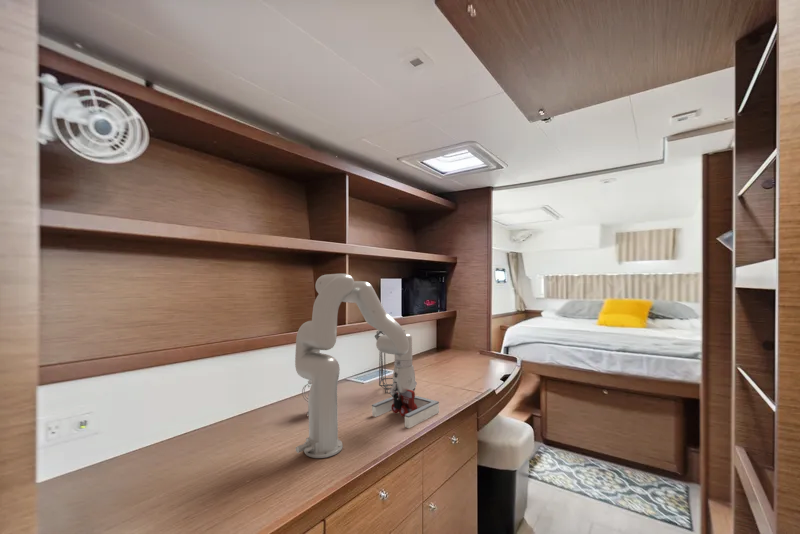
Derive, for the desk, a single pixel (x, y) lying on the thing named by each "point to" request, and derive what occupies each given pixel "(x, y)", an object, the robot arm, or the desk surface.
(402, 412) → the toy fire truck
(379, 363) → the geometric lantern
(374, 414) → the white u-shaped wall
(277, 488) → the desk surface
